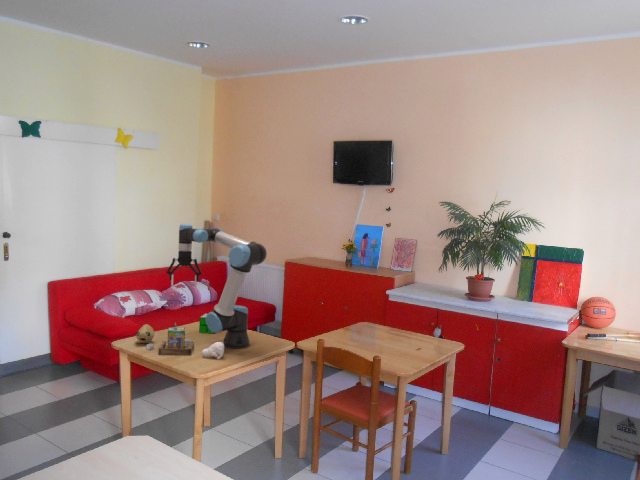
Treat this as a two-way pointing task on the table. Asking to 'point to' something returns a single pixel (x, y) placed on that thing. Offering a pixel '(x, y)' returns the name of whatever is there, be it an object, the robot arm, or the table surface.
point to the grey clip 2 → (187, 341)
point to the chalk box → (176, 337)
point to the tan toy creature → (145, 334)
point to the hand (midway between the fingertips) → (184, 285)
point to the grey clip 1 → (149, 347)
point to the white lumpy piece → (214, 350)
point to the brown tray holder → (175, 350)
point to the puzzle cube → (204, 325)
